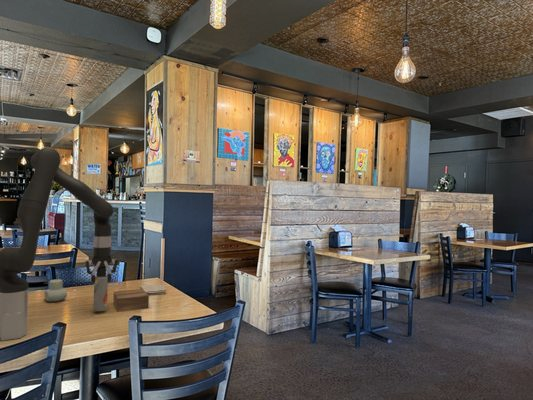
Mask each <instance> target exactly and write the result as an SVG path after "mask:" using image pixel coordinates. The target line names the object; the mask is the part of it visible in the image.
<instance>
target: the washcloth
mask: <svg viewBox="0 0 533 400" xmlns="http://www.w3.org/2000/svg"><path fill="white" fill-rule="evenodd" d="M139 289H143V290H144V291H145V292H146V293H147V294H148V296H149V297H150V296H157V295H158V296H159V295H166V294H167V292H166V291H167V289H166V286H164V285H162V283H153V284H143V285H140V287H139Z"/></svg>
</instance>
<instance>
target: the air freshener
mask: <svg viewBox="0 0 533 400" xmlns="http://www.w3.org/2000/svg"><path fill="white" fill-rule="evenodd" d="M48 282H49V283H48V284H49V285H48V289H46V290H45V291H44V294H43V296H44V300H45V301H47V302H50V303H53V302H54V303H55V302H61V301H63V300H65V299H66V298H67V297H68V295H67V294H68V292H67V290H66V288H65V287H63V284H64V282H63V279H60V278H58V279H51V280H50V281H48Z"/></svg>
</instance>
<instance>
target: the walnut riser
mask: <svg viewBox="0 0 533 400" xmlns="http://www.w3.org/2000/svg"><path fill="white" fill-rule="evenodd" d="M149 298H150V295H149V296H148V294H147V293H146V292H145V291H144V290H143V289H140V288H138V289H128V290H119V291H113V306H114V309H115V310H116V313H118V312H127V311H129V312H130V311H137V310H145V309H149V303H150V302H149V301H150V299H149Z"/></svg>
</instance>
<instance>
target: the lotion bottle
mask: <svg viewBox="0 0 533 400" xmlns="http://www.w3.org/2000/svg"><path fill="white" fill-rule="evenodd" d="M108 285H109V282H108V275H107V269H106V267H102V268H98V269H97V271H96V275H95V283H93V311H95V312H103V311H105V310H107V309H108V291H109V290H108Z"/></svg>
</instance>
